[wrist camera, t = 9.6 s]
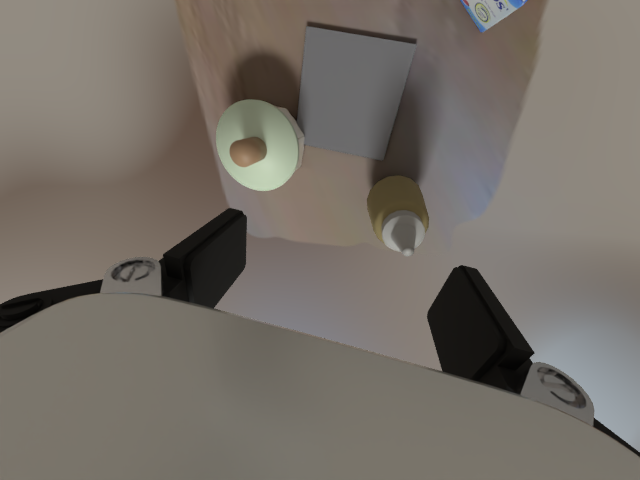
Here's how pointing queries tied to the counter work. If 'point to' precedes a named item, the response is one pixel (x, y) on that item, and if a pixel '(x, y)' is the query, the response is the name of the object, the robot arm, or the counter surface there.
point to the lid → (257, 144)
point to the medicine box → (490, 11)
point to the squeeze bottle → (398, 213)
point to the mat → (351, 91)
